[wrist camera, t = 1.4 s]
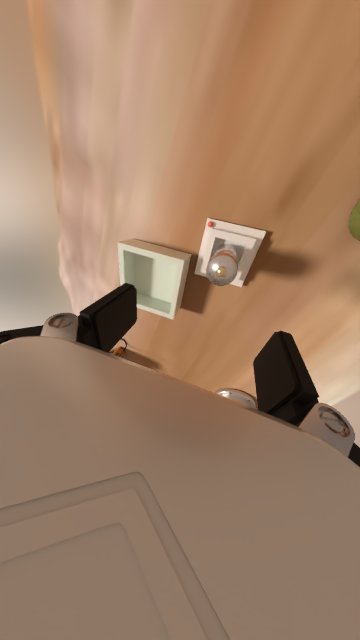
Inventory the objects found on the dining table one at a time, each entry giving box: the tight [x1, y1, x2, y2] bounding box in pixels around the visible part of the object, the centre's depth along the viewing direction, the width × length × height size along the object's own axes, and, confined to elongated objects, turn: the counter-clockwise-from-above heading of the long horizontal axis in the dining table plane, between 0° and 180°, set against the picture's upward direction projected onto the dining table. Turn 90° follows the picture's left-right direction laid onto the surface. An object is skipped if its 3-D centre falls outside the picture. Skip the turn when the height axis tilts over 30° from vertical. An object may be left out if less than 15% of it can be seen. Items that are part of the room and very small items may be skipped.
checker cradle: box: [194, 218, 266, 287], centre depth 26 cm, size 9×9×2 cm
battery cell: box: [206, 244, 238, 286], centre depth 22 cm, size 4×4×10 cm
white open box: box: [118, 239, 192, 319], centre depth 31 cm, size 12×12×5 cm
